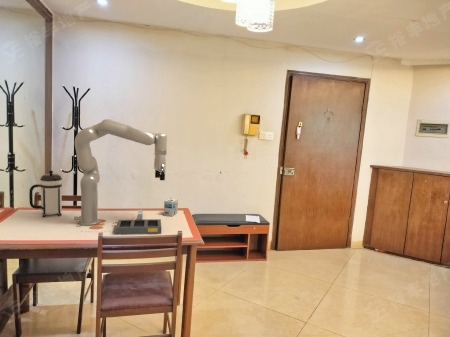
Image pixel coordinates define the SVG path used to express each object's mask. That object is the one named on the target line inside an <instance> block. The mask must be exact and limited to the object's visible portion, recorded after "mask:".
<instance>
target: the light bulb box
mask: <svg viewBox="0 0 450 337" xmlns="http://www.w3.org/2000/svg"><path fill="white" fill-rule="evenodd" d="M163 202H164V206H163V216H165V217H174V216H176V215H177V214H178V208H179V207H178V204H179V203H178V202H179V199H178V198H172V197H169V198H167V199H165V200H164V201H163Z"/></svg>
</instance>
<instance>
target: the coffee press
mask: <svg viewBox="0 0 450 337" xmlns="http://www.w3.org/2000/svg"><path fill="white" fill-rule="evenodd" d="M39 180H40V184H39V183H38V184H37V183H36V184H34V185H32V186H30V188H29V194H28V195H29V197H28V198H29V206H30V207H31V208H32V209H35V210H36V209H37V210H41V213H43V214H42V215H41V217H42V218H46V217H47V216H49V215H50V216H51V215H57V216H58V217H61V216H62V210H63V208H62V205H63V202H62V198H63V197H62V194H63V193H62V187H63V184H62V183H65V180H64V179H63V177H62V176H61V175H60V174H59V173H54V171H53V170H49V171H48V173H46V174H42V176H41V177H40V178H39ZM35 188H40V201H41V202H40V204H41V205H34V202H33V201H34V200H33V197H34V196H33V191H34V189H35Z"/></svg>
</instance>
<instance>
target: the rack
mask: <svg viewBox="0 0 450 337" xmlns="http://www.w3.org/2000/svg"><path fill="white" fill-rule="evenodd" d="M159 234H160V235H162V220H161V219H160V218H159V219H156V218H155V219H154V218H152V219H144V218H143V219H141V220H137V219H118V220H117V222H116V226H115V235H121V236H122V235H159Z"/></svg>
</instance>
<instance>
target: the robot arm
mask: <svg viewBox="0 0 450 337" xmlns="http://www.w3.org/2000/svg"><path fill="white" fill-rule="evenodd" d="M107 135H112V136H116V137H117V138H121V139H125V140H128V141H132V142H135V143H138V144H141V145H145V146H151V145H154V159H153V160H154V161H153V169H154V178H155V179H159V181H165V180H166V161H167V160H166V156H167V147H168V146H167V144H168V143H167V142H168V136H167V133H154V132H146V131H143V130H140V129H137V128H134V127H132V126H130V125H128V124H125V123H121V122H119V121H118V122H117V121H115V120H112V119H108V118H107V119H106V118H104V119H103V120H102V121H101V122H98V123H97V124H94V125H92V126H88V127H85V128H82V129H81V130H80V131H79V132H78V133H77V134H76V136H75V138H74V148H75V152H76V153H75V154H76V158H77V165H78V168H79V170H81V171H82V174H83V175H82V176H81V179H80V201H81V202H80V206H81V208H80V209H81V210H80V213H81V215H79V216H78V215H75V216H73V220H74V221H78V224H79V225H81V226H87V227H88V226H95V225H98V224H100V223H101V220H100V219H99V217H98V216H99V215H98V214H99V213H98V210H99V209H98V208H99V206H98V205H99V204H98V198H99V197H98V184H99V182H100V178H101V176H100V171H99V166H98V162H97V159H96V158H95V156H94V155H93V153H92V148H91V144H90V143H91V142H94V141H96V140H98V139H100V138H103V137H105V136H107Z"/></svg>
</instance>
